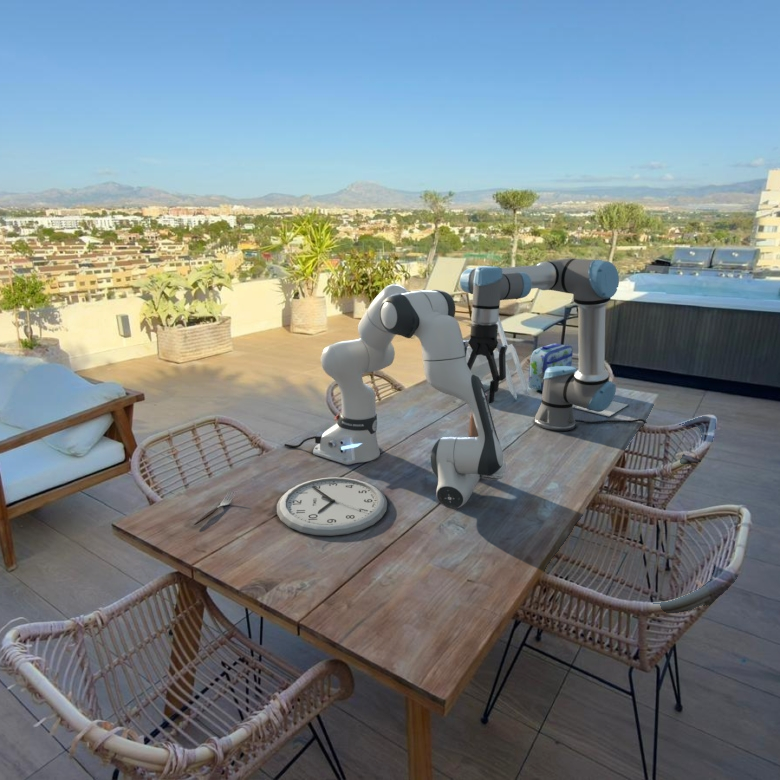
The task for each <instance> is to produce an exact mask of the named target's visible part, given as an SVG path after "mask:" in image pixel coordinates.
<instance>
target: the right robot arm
mask: <svg viewBox="0 0 780 780" xmlns="http://www.w3.org/2000/svg"><path fill="white" fill-rule="evenodd" d="M619 284H620V275H619V272H618V268H617V267H616V265H615V264H614V263H613V262H610V261H608V260H602V259H586V258H574V257H573V258H571V257H570V258H561V259H555V260H554V259H553V260H546V261H540V262H539V263H537V264H536V265H535V264H534V265H520V266H511V267H510V266H509V267H508V266H507V267H501V266H494V265H493V266H492V265H491V266H490V265H487V266H486V265H481V266H477V267H476V268H475V267H474V268H467V269H465V270H464V271H462V273H461V274H460V277H459V286H460V288H461V290H462V291H463V292H465V293H467V294H470V295H472V307H471V318H470V319H471V322H472V323H471V324H470V336H469V339H468V340H465V339H463V342H464V348H465V357H466V352H467V347H468V346H469V347H471V348H472V353H471V355H470V358H469V361H468V363H467V365H468V367H469V369H470V371H471V368H472V366H473V364H474V362H475V359H476V357H477V355H483V356H486V358H487V360H488V363H489V367H490V370H491V372H490V374H491V378H492V380H490V382H489V394H488V395H489V396H488V404H493V403H494V402H495V394H496V393H497V392H498V391H499V385H500V381H501V382H502V381H504V380H506V356H505V353H506V350H507V345H504V346H503V345H502V343H499V341H498V333H499V331H498V325H497V324H496V323H497V322H498V318H500V305H501V301H507V300H519V299H523V298H526V297H528V295H529V294H530V293H531V291H532V290H534V289H538V290H540V291H555V292H560V293H565V294H571V295H572V296H573V303H574V304H575V305H576V306H577V307H578V308H577V309H578V310H577V313H578V314H577V315H578V316H577V317H578V320H577V321H578V322H577V323H578V325H577V327H578V328H577V329H578V330H577V331H578V333H577V335H578V339H577V340H578V345H577V346H578V368H577V367H576V366H572V365H571V366H555V367H549V368H547V369H546V371H545V375H544V378H543V379H544V381H543V391H541V392H542V394H541V402H540V405H539V407H538V410H537V411H536V413H535V416H534V424H535V425H536V426H537V427H539V428H542V429H544V430H549V431H556V432H567V431H572V430H574V429H575V428H576V423H582V424H601V423H636V422H643V423H644V424H647V423H648V422H647V421H646V420H645V419H643V418H637V419H632V420H631V419H629V420H626V419H622V420H621V419H604V420H593V421H591V420H590V421H588V420H582V419H576V418H575V417H576V416H575V413H574V407H573V406H575V407H576V406H579V407H583V408H586V409H588V410H592V411H596V412H601V411H604V410H605V409H606V408H607V407H608V406H609V405H610V404H611V402H612V401H614V398H615V395H616V392H617V386H616V384H615V383H614V382H613V381H611V380H610V373H609V371H607V370H606V368H605V359H606V358H605V356H606V355H605V354H606V353H605V352H606V306H607V305H608V304H609V302H610V301H611V300H612V299H611V298H612V297H614V296H615V294H616V293H617V291H618V287H619ZM494 350H498V352H499V367H497V366H496V362H495V359H494V353H493V351H494Z"/></svg>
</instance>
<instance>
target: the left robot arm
mask: <svg viewBox="0 0 780 780" xmlns="http://www.w3.org/2000/svg"><path fill="white" fill-rule="evenodd" d="M455 317H456V304H455V300H454V298H453V297H452V295H451V294H450V293H448V292H447V291H444V290H439V289H432V290H427V289H426V290H425V289H424V290H422V289H421V290H414V291H409V290H408V289H407V288H405V287H403V286H402V285H399V284H390V285H386V286H385V287H384V288H383V289H381V291H380V292H379V293H378V294H377V295H376V297H375V298H374V299H373V300H372V301H371V303H370V304H369V306H368V307H367V309H366V311H365V312H364V314H363V315H362V317H361V319H360V321H359V322H358V325H357V332H358V336H359V338H356V339H351V340H343V341H338V342H335V343H332V344H330V345H327V346H325V347H324V348H323V350H322V352H321V355H320V364H321V368H322V370H323V372H324V373H325V374H326V375H327V376H329V377H330V378H332V379H333V381H335V383H336V384H337V386H338V388H339V392H340V398H341V399H340V400H341V401H340V402H341V410H340V412H339V413H337V415H336V416H335V417H334V421H337V422H336V423H334V424H333V425H331V426H330V427H328V428H327V429H326V430H325V431H324V430H323V431H322V430H320V431H318V432H317V434H316V435H313V436H309V437H306V438H304V439H303V440H302V441H301V442H299V444H296V445H293V444H287V443H284V447H288V448H293V449H294V448H295V449H296V448H300V447H301V446H302V445H303V444H304V443H305V442H308V441H310V440H315V441H314V443H315V444H316V445H315V446H314V447H313V450H312V453H313V456H316V457H317V456H318V457H321V458H324V459H327V460H331V461H333V462H337V463H339V464H343V465H347V466H349V465H354V464H357V463H359V464H360V463H367V462H371V461H374V460H376V459H378V458H379V457H380V455H381V451H380V448H379V444H378V436H377V430H378V414H377V411H376V409H377V407H376V405H377V403H376V401H377V400H376V399H377V398H376V397H377V395H376V391H375V390H374V389H373V387H371V386H370V385H369V384H367V383H366V382H365V383H364V380H363V374H368V373H373V372H379V371H381V370H383V369H386V368H388V367H390V366H391V365H392V364H393V362H394V360H395V357H396V356H395V355H396V352H395V351H396V350H395V347H394V344H393V343H392V341H393V340H394V339H395V337H396V336H400V337H404V338H406V339H411V338H412V337H413V336H414V337H416V338H418V340H419V341H420V345H421V353H422V355H421V356H422V365H423V372H424V376H425V380H426V381H427V383H428V384H429V385H430V386H431V387H432V388H433V389H435V390H437V391H438V392H440V393H443V394H445V395H449V396H452V397H455V398H456V399H459V400H461V401H463V402H464V403H466V404H467V405H468V406H469V408H470V410H471V411H472V414H473V417H474V421H475V425H476V428H477V432H478V437H469V436H441V437H440V438H439V439H437V440H436V441H435V443H434V445H433V447H432V448H431V451H430V465H431V469H432V472H433V474H434V475H435V478H436V479H437V486H436V492H435V493H436V494H435V495H436V499H437V501H438V502H439V503H440V504H441V505H442V506H444V507H446V508H449V509H459V508H461V507H463V506H464V505H465V504H466V503H467V502H468V501H469V499H470V497H471V496H472V494H473V492H474V489H475V488H476V487H477V485H478V483H479V481H480V480H481V479H483V480H489V481H499V480H501V479H503V477H504V474H505V472H506V465H507V463H506V461H504V452H503V448H502V445H501V443H500V439H499V437H498V435H497V434H498V433H497V431H496V428H495V424H494V420H493V417H492V414H491V413H492V412H491V409H490V406H489V400H488V397H487V398H486V394H487V393H486V392H485V389H484V385H483V383H482V381H481V380H480V379H479V377H477V376H475V375H473V374H472V372H471V371H470V369H469V367H468V365H467V362H466V357H465V348H464V342H463V340H464V338H463V334H462V329H461V326H460V324H459V323H460V322H459V321H458V320H457V318H455ZM485 393H486V394H485Z"/></svg>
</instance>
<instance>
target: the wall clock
mask: <svg viewBox="0 0 780 780" xmlns="http://www.w3.org/2000/svg"><path fill="white" fill-rule="evenodd" d="M387 509H388V500H387V498H386V496H385V494H384V493H383V492H382V491H381V490H380V489H379V488H377V487H376V486H374V485H372V484H371V483H369V482H365V481H362V480H359V479H355V478H349V477H338V476H337V477H335V476H333V477H332V476H331V477H322V478H317V479H312V480H307V481H305V482H302V483H299V484H297V485H295V486H293V487H292V488H290V489H288V490H287V491H286V492H285V493H284V494H283V495H281V496H280V498H279V499H278V502H277V503H276V515H277V517H278V518H279V520H280V521H281V522H282V523H283V524H285V525H286V526H287V527H288V528H290V529H293V530H295V531H297V532H299V533H303V534H308V535H312V536H327V537H328V536H329V537H331V536H332V537H333V536H342V535H350V534H352V533H356V532H361V531H363V530H366V529H368V528H369V527H372V526H373V525H375V524H376V523H378V522H379V521H380V520H381V519H382V518H383V517H384V516H385V514H386V512H387Z"/></svg>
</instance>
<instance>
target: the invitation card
mask: <svg viewBox="0 0 780 780" xmlns="http://www.w3.org/2000/svg"><path fill="white" fill-rule="evenodd" d="M628 406H629V404H627V403H623V402H618V401H614V400H612V402H611V404H610V405H609V406H608V407H607V408H606V409H605V410H604V411H601V412H596V411H592V410H588V409H586V408H583V407H579V406H576V405H575V406H574V407H573V409H575V410H581V411H584V412H587V413H593V414H596V415H600V416H604V417H608V418H609V417H611V416H613V415H614V414H616V413H617V412H619V411H621V410H623V409H624V408H626V407H628Z"/></svg>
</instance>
